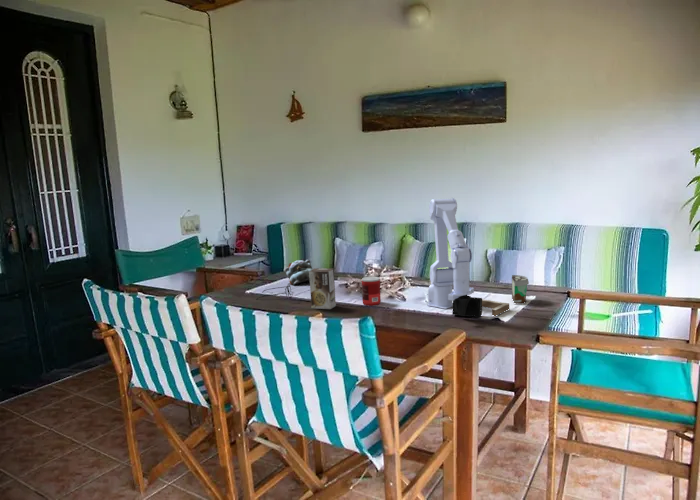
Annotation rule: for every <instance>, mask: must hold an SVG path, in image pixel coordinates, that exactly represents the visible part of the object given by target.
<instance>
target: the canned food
mask: <svg viewBox="0 0 700 500" xmlns="http://www.w3.org/2000/svg"><path fill="white" fill-rule="evenodd" d="M361 293H362V294H361V297H362V299H361V300H362V304H363V305H364V306H369V307H370V306H378V305H380V304H381V300H382V299H381V298H382V297H381V278H380V277H379V276H364V277H362V278H361Z"/></svg>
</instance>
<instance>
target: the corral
mask: <svg viewBox="0 0 700 500" xmlns="http://www.w3.org/2000/svg"><path fill="white" fill-rule="evenodd" d="M486 307H488V309H491V316H492V315H494V316H496V315H498V314H500V313H502V312H504V311H506V310H508V309H509V310H510V303H507V302H502V301H495V300H489V299H483V298H482V308H486ZM492 308H493V309H492ZM504 313H505V312H504ZM502 314H503V313H502ZM500 315H501V314H500ZM494 316H493V317H494ZM498 316H499V315H498ZM496 317H497V316H496Z"/></svg>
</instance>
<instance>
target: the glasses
mask: <svg viewBox="0 0 700 500" xmlns="http://www.w3.org/2000/svg"><path fill="white" fill-rule="evenodd" d="M282 288H284V286H281V287H273V288H272V287H271V288H268V289H264V290H263V291H262V293H264V292H265V291H269V290H274V289H275V290H276V289H282ZM289 288H290V290H289ZM284 291H285V292H282V293H275V294H268V295H262V296H259V297H257V298H256V300H259V299H260V298H263V297H270V296H278V295H286V297H289V294H291V292H292V287H291V285H290V282H289V283H287V286H285V289H284Z"/></svg>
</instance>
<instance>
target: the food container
mask: <svg viewBox="0 0 700 500" xmlns="http://www.w3.org/2000/svg"><path fill="white" fill-rule="evenodd" d="M529 284H530V282H529V279H528V277H527V276H525V275H519V274H517V275H516V274H511V299H513V300H512V302H513V301H514V302H513V304H514V303H523V304H525V303H526V301H527V289H528V285H529ZM524 302H525V303H524Z"/></svg>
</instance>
